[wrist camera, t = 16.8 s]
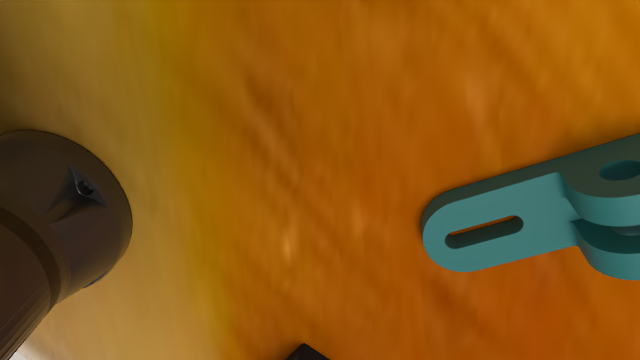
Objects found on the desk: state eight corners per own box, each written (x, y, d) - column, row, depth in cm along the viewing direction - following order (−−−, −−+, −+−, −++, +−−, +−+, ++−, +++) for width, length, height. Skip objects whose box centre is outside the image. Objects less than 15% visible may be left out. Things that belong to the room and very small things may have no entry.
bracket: (645, 130, 38) (703, 176, 31) (657, 205, 41) (715, 264, 34) (410, 200, 43) (415, 255, 36) (434, 264, 45) (444, 327, 38)
